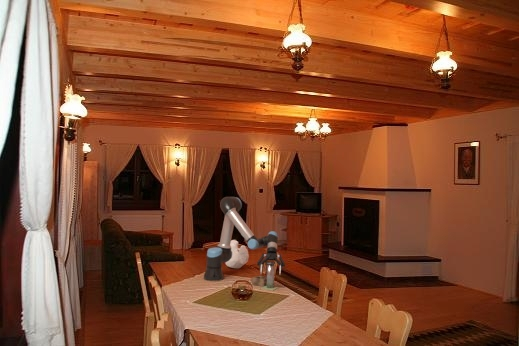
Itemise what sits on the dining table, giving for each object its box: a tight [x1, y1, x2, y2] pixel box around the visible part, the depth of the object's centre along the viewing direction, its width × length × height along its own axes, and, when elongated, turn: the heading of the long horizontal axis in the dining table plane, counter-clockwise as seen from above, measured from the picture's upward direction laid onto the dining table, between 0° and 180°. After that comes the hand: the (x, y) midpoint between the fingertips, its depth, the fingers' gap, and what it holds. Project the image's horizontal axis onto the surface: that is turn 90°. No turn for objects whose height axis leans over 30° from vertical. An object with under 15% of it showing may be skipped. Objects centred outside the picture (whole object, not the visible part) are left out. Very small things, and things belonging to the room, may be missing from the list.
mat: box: [260, 285, 280, 291], centre depth 293 cm, size 10×10×1 cm
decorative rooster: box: [224, 239, 250, 270], centre depth 365 cm, size 25×16×25 cm, turn 35°
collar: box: [250, 275, 267, 287], centre depth 305 cm, size 11×11×5 cm
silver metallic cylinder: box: [265, 260, 276, 288], centre depth 294 cm, size 7×7×18 cm
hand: (270, 273), depth 292 cm, fingers open, 13 cm apart
